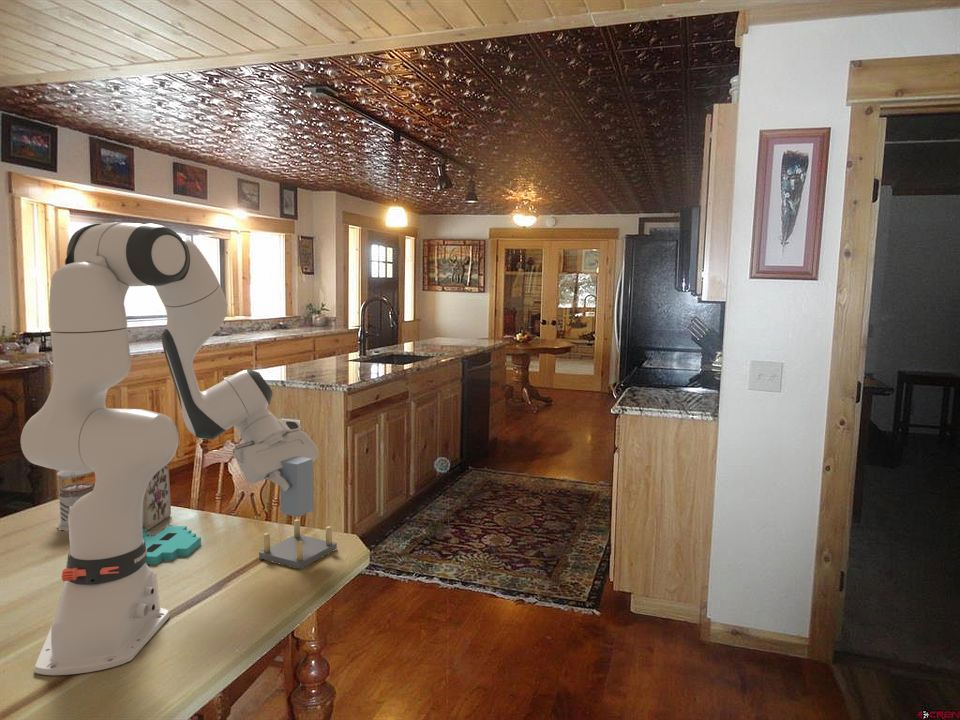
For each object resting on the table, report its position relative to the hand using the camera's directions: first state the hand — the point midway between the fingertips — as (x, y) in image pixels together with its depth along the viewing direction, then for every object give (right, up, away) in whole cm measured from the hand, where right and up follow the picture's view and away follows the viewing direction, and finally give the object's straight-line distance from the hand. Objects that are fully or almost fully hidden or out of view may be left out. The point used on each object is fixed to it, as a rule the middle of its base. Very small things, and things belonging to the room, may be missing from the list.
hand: (299, 484), depth 140 cm
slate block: (-1, -6, +1) cm, 6 cm away
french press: (-63, -14, +20) cm, 67 cm away
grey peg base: (-1, -16, +2) cm, 16 cm away
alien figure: (-35, -16, +4) cm, 39 cm away
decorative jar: (-47, -14, +20) cm, 53 cm away
